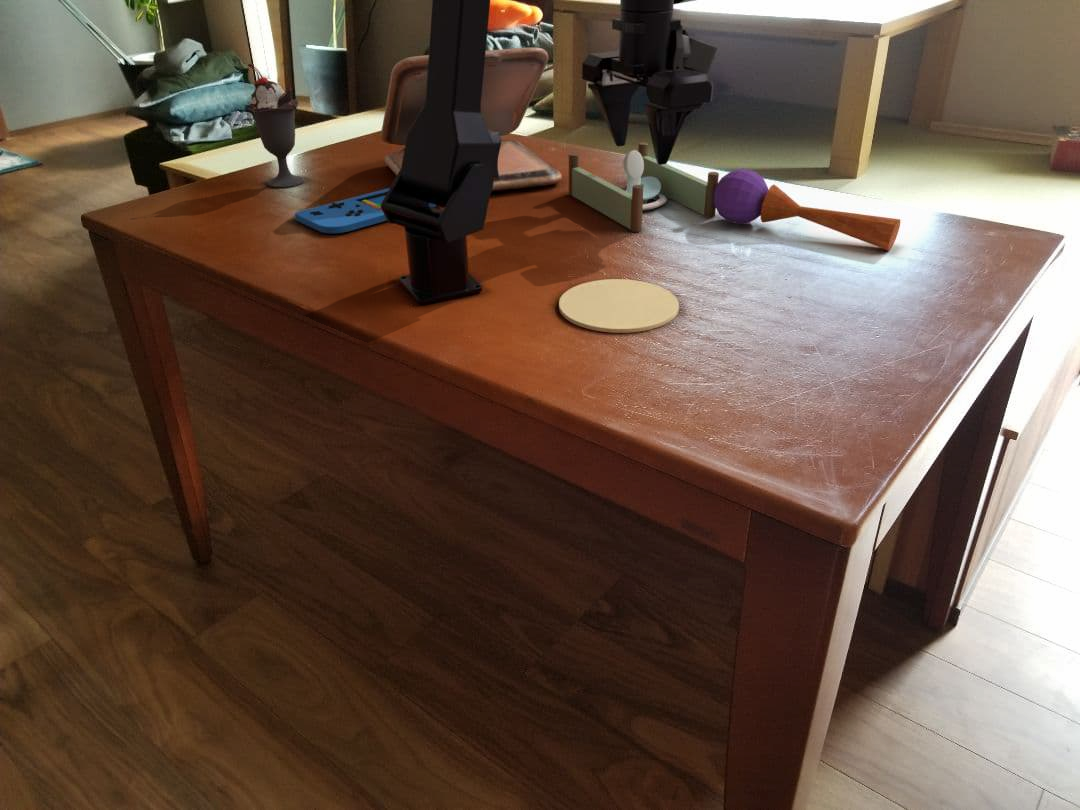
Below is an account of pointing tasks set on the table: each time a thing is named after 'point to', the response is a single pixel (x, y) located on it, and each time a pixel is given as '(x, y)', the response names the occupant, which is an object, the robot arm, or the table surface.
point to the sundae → (275, 125)
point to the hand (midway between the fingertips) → (640, 154)
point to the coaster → (618, 305)
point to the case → (501, 108)
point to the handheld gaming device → (346, 213)
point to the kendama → (794, 209)
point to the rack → (641, 190)
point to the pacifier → (642, 180)
